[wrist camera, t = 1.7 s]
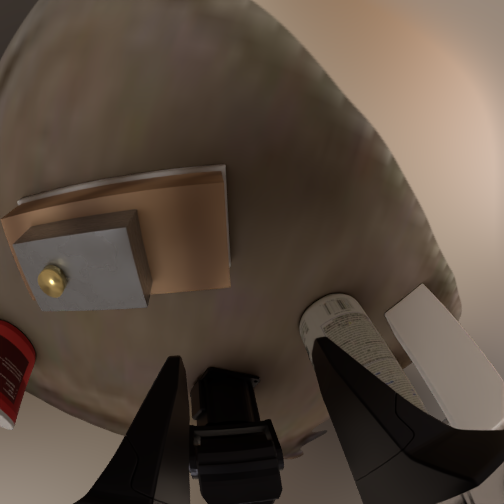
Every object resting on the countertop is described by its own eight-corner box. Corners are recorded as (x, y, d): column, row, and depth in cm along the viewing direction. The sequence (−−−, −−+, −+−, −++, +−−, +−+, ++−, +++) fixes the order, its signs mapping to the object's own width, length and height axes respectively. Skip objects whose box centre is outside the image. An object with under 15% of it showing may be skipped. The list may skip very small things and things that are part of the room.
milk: (393, 334, 31) (471, 470, 12) (383, 312, 28) (478, 473, 9) (429, 306, 29) (516, 432, 11) (423, 281, 26) (531, 426, 8)
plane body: (224, 164, 17) (229, 176, 14) (230, 262, 21) (235, 290, 18) (21, 198, 15) (-3, 216, 12) (48, 278, 19) (32, 303, 16)
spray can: (283, 329, 26) (351, 527, 9) (329, 279, 24) (446, 488, 6) (327, 345, 28) (396, 503, 11) (369, 303, 26) (468, 463, 9)
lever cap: (136, 208, 14) (122, 233, 11) (152, 281, 17) (145, 315, 14) (31, 226, 13) (6, 250, 10) (54, 288, 16) (38, 318, 13)
